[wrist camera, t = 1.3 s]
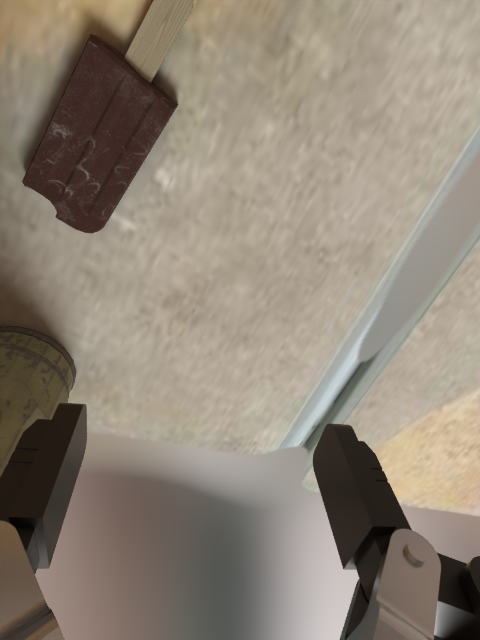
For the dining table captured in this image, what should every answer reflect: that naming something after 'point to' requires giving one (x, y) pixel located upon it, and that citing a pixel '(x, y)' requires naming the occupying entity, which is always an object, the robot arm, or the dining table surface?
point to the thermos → (29, 383)
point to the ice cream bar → (106, 122)
